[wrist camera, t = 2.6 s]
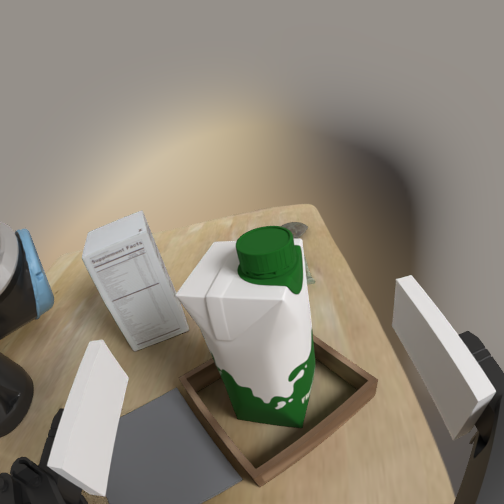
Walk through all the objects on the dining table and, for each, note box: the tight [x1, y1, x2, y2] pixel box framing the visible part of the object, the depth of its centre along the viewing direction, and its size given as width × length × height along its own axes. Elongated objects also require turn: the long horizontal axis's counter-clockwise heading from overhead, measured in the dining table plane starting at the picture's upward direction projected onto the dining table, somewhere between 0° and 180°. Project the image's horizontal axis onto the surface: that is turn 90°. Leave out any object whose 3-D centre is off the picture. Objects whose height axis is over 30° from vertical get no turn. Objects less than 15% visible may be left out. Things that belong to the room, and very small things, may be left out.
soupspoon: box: [280, 222, 315, 285], centre depth 58 cm, size 22×3×7 cm
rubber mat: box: [106, 387, 243, 504], centre depth 27 cm, size 15×14×1 cm
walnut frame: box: [179, 335, 378, 487], centre depth 32 cm, size 15×15×3 cm
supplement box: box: [82, 211, 189, 351], centre depth 43 cm, size 10×9×17 cm
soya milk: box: [175, 226, 315, 428], centre depth 27 cm, size 9×9×20 cm
